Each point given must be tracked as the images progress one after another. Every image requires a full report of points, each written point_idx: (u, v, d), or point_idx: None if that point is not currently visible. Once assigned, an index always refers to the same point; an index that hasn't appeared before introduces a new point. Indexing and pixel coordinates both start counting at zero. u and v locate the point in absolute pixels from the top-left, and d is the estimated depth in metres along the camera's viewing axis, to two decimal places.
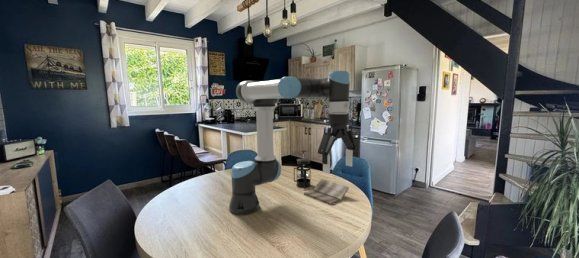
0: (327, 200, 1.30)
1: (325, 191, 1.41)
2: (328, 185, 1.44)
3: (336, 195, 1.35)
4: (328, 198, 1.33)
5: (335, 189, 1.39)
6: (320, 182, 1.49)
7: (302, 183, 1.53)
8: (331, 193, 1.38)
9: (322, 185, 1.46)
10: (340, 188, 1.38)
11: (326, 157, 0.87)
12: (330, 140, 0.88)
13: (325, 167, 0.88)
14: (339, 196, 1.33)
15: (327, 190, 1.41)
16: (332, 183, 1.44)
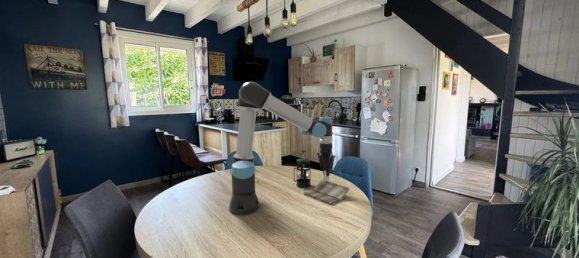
0: (327, 200, 1.30)
1: (325, 191, 1.41)
2: (328, 185, 1.44)
3: (336, 195, 1.35)
4: (328, 198, 1.33)
5: (335, 189, 1.39)
6: (320, 182, 1.49)
7: (302, 183, 1.53)
8: (332, 193, 1.38)
9: (322, 185, 1.46)
10: (340, 189, 1.38)
11: (324, 171, 1.48)
12: None
13: None
14: (339, 196, 1.34)
15: (327, 190, 1.41)
16: (332, 184, 1.44)
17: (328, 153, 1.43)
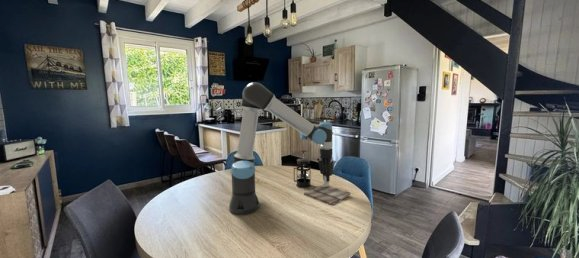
0: (327, 200, 1.30)
1: (326, 191, 1.42)
2: (330, 188, 1.45)
3: (337, 195, 1.36)
4: (328, 198, 1.33)
5: (337, 192, 1.40)
6: (322, 185, 1.50)
7: (302, 183, 1.53)
8: (332, 193, 1.38)
9: (324, 188, 1.47)
10: (342, 192, 1.39)
11: (324, 176, 1.48)
12: None
13: None
14: (340, 196, 1.34)
15: (328, 191, 1.42)
16: (334, 188, 1.45)
17: (328, 158, 1.43)
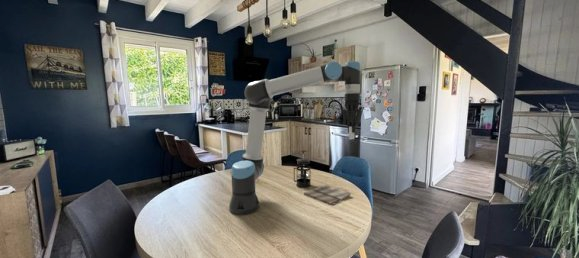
0: (327, 200, 1.30)
1: (326, 192, 1.42)
2: (330, 189, 1.45)
3: (337, 195, 1.36)
4: (328, 198, 1.33)
5: (337, 192, 1.40)
6: (322, 186, 1.50)
7: (302, 183, 1.53)
8: (333, 193, 1.39)
9: (324, 188, 1.47)
10: (342, 192, 1.39)
11: (348, 127, 1.26)
12: None
13: None
14: (340, 196, 1.34)
15: (328, 191, 1.42)
16: (334, 188, 1.45)
17: (355, 104, 1.21)
